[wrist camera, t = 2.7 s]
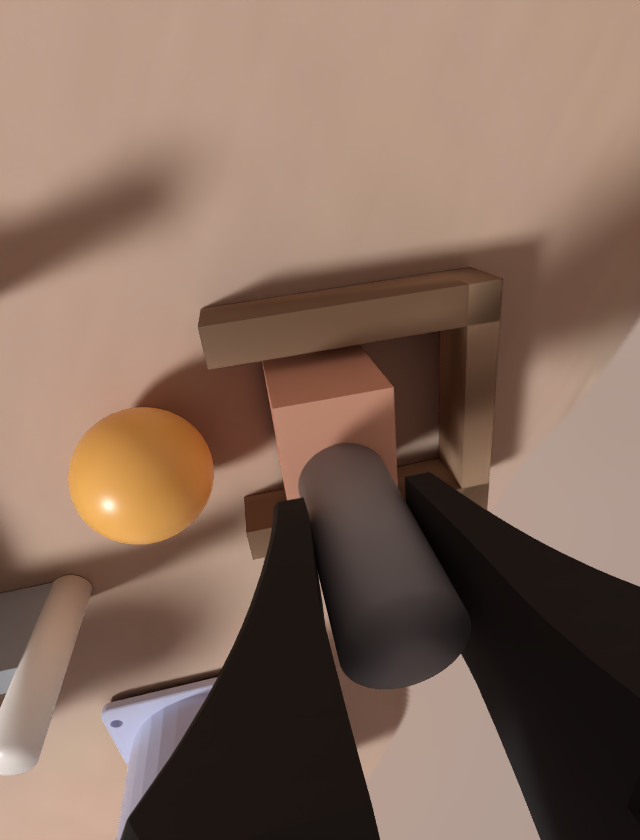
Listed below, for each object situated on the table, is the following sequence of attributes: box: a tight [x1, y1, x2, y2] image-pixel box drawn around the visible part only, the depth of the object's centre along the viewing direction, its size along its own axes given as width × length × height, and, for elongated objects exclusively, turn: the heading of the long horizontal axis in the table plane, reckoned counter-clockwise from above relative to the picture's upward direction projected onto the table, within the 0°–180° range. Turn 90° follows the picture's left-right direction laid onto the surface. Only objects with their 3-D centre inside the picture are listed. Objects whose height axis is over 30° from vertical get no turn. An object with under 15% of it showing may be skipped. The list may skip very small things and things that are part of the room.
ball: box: [68, 407, 214, 544], centre depth 14 cm, size 4×4×4 cm
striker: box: [262, 345, 471, 689], centre depth 12 cm, size 5×3×9 cm, turn 6°
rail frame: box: [198, 267, 503, 560], centre depth 16 cm, size 8×8×2 cm
